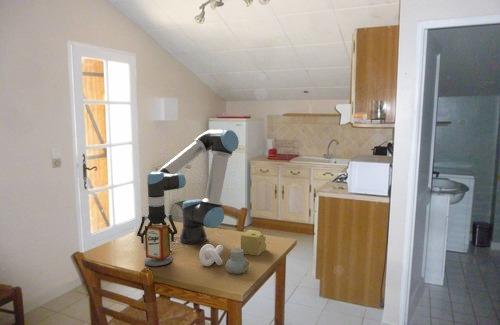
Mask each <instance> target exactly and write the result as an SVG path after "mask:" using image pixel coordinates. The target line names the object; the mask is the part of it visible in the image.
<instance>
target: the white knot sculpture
mask: <svg viewBox="0 0 500 325" xmlns="http://www.w3.org/2000/svg"><path fill="white" fill-rule="evenodd" d="M223 251H224V246H223V245H222V244H218V245H217V246H216V247H215V246H214V245H212V244H210V243H206V244H204V245H203V246H202V247H201V248H200V251H199V255H198V257H199V261H200V263H201V264H202V266H205V267H209V266H211V265H213V264H214V263H215V264H216V265H218V266H222V265H223V260H222V258H221V255H222V254H223Z"/></svg>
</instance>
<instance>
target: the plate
mask: <svg viewBox="0 0 500 325" xmlns="http://www.w3.org/2000/svg"><path fill="white" fill-rule="evenodd" d="M172 261H173V257H172V256H171V255H170V256H169V257H167V258H165V259H164V260H159V259H153V258H147V257H145V259H144V261H143V262H144V264H145V265H146V266H150V267H159V266H165V265H167V264H170V263H172Z"/></svg>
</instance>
